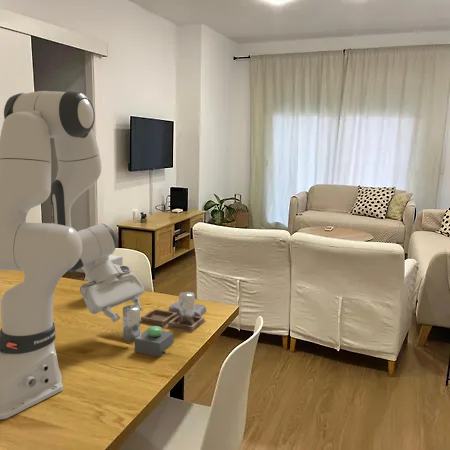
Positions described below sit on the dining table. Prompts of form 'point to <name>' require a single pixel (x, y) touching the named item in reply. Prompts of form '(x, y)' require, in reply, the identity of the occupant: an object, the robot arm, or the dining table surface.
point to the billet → (131, 322)
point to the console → (153, 343)
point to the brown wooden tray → (170, 320)
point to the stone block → (197, 312)
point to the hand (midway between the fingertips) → (128, 315)
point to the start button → (154, 331)
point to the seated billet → (186, 308)
